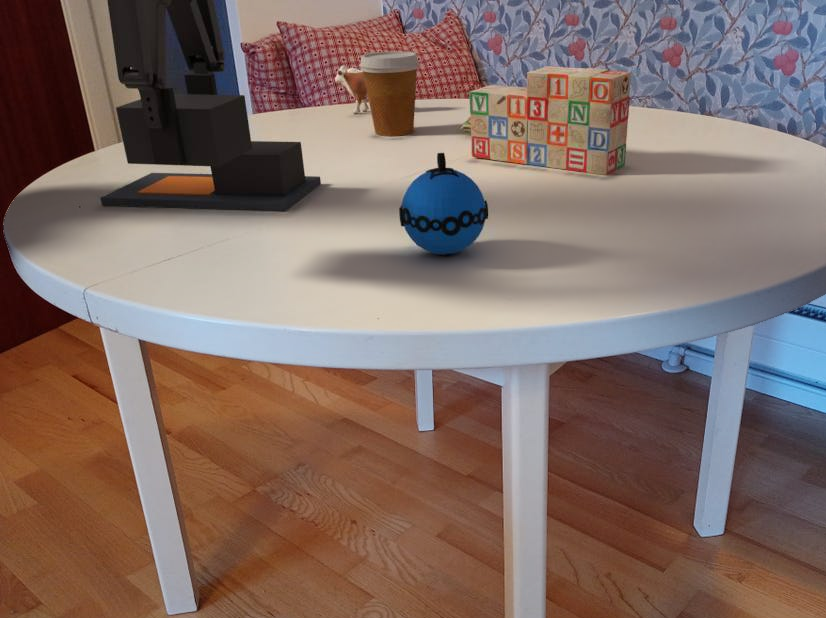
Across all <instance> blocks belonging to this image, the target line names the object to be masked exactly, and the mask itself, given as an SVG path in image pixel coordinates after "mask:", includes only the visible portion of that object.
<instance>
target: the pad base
mask: <svg viewBox="0 0 826 618" xmlns="http://www.w3.org/2000/svg"><path fill="white" fill-rule="evenodd" d="M251 144H252V149H250V150H249V151H247V152H245V153H243V154H241V155H239V156H238V157H236V158H234V159H232V160H230V161H228V162H227V163H225V164H223V165H221V166H219V167H213V166H209V168H210V173H184V172H183V173H179V172H150V173H148V174H146V175H144V176H142V177H140V178H138V179H136V180H133V181H132V182H129V183H127V184H126V185H122V187H119V188H117V189H115V190H113V191H111V192H108V193H106V194H104V195H103V196H101V197H99V200H100V204H101V206H107V207H134V208H135V207H136V208H137V207H139V208H167V209H169V208H172V209H205V210H232V211H233V210H237V211H239V210H240V211H267V212H268V211H271V212H273V211H274V212H287V211H288V210H289V209H290V208H292V207H293V206H294V205H296V204H297V203H298V202H299V201H300V200H302V199H303V198H305V197H306V196H307V195H309V194H310V193H311V192H313V191H314V190H316V189H317V188H318V187H319V186H321V184H322V180H321V176H314V175H313V176H312V175H310V176H309V175H306V172H305V165H304V157H303V148H302V142H301V141H269V140H267V141H266V140H265V141H264V140H263V141H261V140H251Z"/></svg>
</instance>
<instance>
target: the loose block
mask: <svg viewBox="0 0 826 618" xmlns="http://www.w3.org/2000/svg"><path fill="white" fill-rule="evenodd" d="M174 97H175V103H176V108H177V115H178V120H179V126H180V131H181V137H182V143H183V148H184V154H185V159H186V163H185V164H183V165H182V166H185V167H186V166H187V167H210V166H213V167H219V166H221V165H223V164H225V163H227V162H228V161H230V160H232V159H234V158H236V157H238V156H239V155H241V154H243V153H245V152H247V151H249V150H250V149H252V144H251V141H252V138H251V131H250V130H251V129H250V123H249V117H248V116H249V115H248V109H247V103H246V96H245V95H244V94H242V95H241V94H218V95H203V94H187V93H174ZM115 111H116V116H117V120H118V125H119V130H120V134H121V139H122V143H123V148H124V153H125V157H126V163H127V164H129V165H154V166H155V165H156V166H157V165H158V166H163V165H164V166H172V165H171V164H154V159H153V154H152V149H151V144H150V139H149V134H148V129H147V125H146V123H145V118H144V116H145V115H144V113H143V111H144V110H143V108H142V103H141V98H139V99H137V100H133V101H131V102H128V103H125V104H122V105H119V106H116V107H115Z"/></svg>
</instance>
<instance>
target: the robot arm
mask: <svg viewBox="0 0 826 618" xmlns="http://www.w3.org/2000/svg"><path fill="white" fill-rule="evenodd" d="M106 1H107V9H108V14H109V23H110V28H111V36H112V43H113V50H114V51H113V52H114V59H115V65H116V72H117V77H118V78H117V79H118V81H119V83H120V84H121V85H124V86H125V88H127V89H129V90H130V89H136V90H137V91H138V93H139V99H141V103H142V108H143V110H144V111H143V113H144V115H145V116H144V118H145V123H146V125H147V129H148V134H149V139H150V144H151V149H152V154H153V159H154V164H171V165H170V166H183V164H185V163H186V159H185V154H184V148H183V143H182V137H181V131H180V126H179V120H178V115H177V108H176V103H175V97H174V94H175V92H174V88H173V87H170V86H169V87H167V86H166V84H167V83H166V82H167V80H166V79H167V78H166V77H167V74H166V73H167V70H166V69H167V67H166V66H167V61H166V60H167V55H166V54H167V53H166V51H167V50H166V49H167V28H166V27H167V21H166V20H167V14H168V16H169V20H170V22H171V24H172V27H173V30H174V33H175V35H176V38H177V42H178V44H179V47H180V49H181V52H182V55H183V58H184V60H185V63H186V65H187V68H188V70H189V73H188V72H187V73H184V74H183V77H184V82H185V88H186V94H203V95H219V94H218V89H217V82H216V76H215V73H223V72H225V69H226V66H225V65H226V64H225V62H224V61H225V59H226V55H225V50H224V45H223V39H222V35H221V29H220V25H219V20H218V16H217V11H216V6H215V5H216V4H215V1H214V0H106Z"/></svg>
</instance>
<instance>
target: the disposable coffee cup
mask: <svg viewBox="0 0 826 618" xmlns="http://www.w3.org/2000/svg"><path fill="white" fill-rule="evenodd" d="M417 56H418V55H417V53H416V52H412V51H401V50H400V51H395V50H393V51H392V50H391V51H379V52H370V53H365V54H362V55H361V57H360V63H359V64H358V66H359V67H360V70H362V71H363V75H364V79H365V84H366V89H367V94H368V97H367V100H368V103H369V104H368V105H369V109H370V114H371V119H372V124H373V128H374V133H375V135H379V136H384V137H397V136H406V135H410V134H412V133H414V130H415V129H414V127H415V110H416V94H417V93H416V92H417V75H418V69H419V65H420V61H419V60H418V58H417Z"/></svg>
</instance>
